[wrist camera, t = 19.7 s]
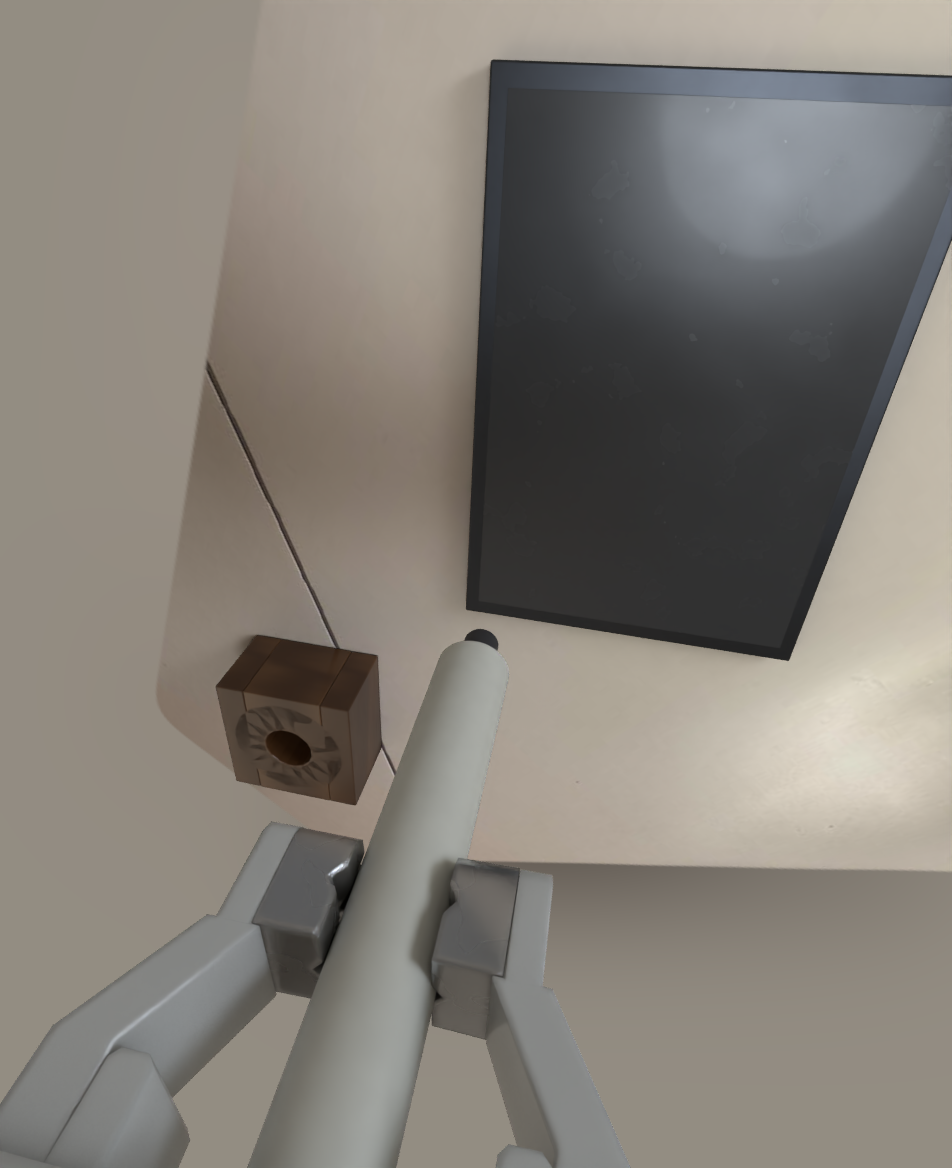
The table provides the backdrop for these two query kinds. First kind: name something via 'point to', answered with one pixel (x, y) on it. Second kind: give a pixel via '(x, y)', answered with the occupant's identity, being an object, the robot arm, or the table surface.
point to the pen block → (302, 718)
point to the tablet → (691, 335)
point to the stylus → (390, 936)
